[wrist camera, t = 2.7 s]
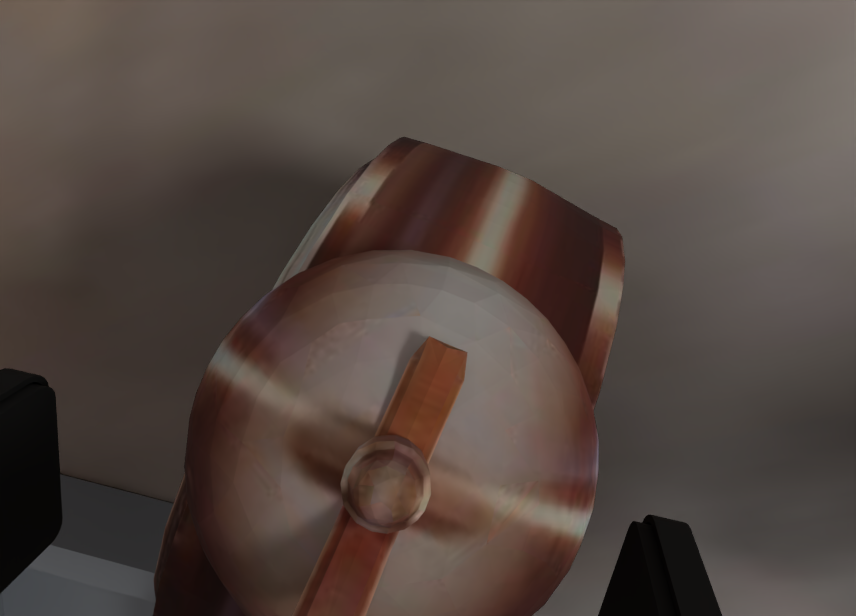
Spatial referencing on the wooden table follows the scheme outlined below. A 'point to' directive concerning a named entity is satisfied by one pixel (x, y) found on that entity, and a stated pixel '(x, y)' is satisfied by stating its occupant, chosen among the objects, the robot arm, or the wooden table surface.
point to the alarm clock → (403, 406)
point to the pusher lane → (94, 557)
